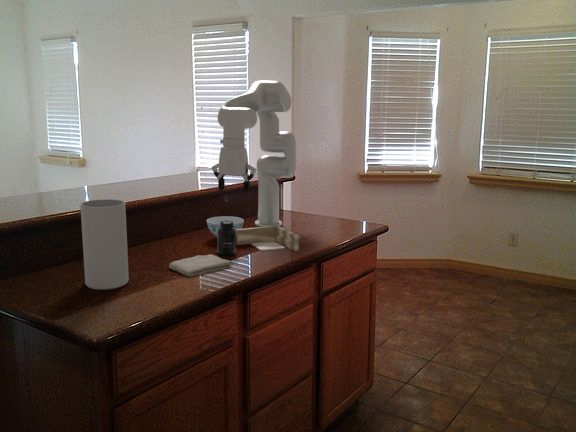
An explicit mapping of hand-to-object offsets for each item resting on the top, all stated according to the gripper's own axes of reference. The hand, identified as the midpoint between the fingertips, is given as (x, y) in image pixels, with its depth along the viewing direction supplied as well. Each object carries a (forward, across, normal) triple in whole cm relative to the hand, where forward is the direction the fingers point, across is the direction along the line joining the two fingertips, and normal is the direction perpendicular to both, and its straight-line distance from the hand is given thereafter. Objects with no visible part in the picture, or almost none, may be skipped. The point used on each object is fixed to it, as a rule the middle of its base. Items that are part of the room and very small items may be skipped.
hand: (233, 190), depth 191 cm
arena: (+23, +9, +12) cm, 28 cm away
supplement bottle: (+24, -2, -1) cm, 24 cm away
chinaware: (+23, -12, +18) cm, 32 cm away
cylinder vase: (+24, -21, -45) cm, 55 cm away
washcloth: (+24, -3, -20) cm, 32 cm away
